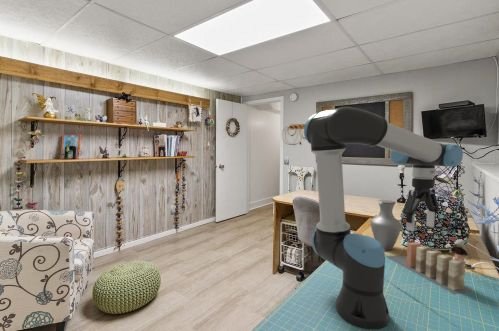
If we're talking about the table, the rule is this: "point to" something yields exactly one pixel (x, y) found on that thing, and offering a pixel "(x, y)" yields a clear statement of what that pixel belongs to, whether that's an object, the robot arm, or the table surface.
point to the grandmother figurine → (459, 250)
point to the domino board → (403, 261)
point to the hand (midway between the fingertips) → (420, 228)
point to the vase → (386, 225)
